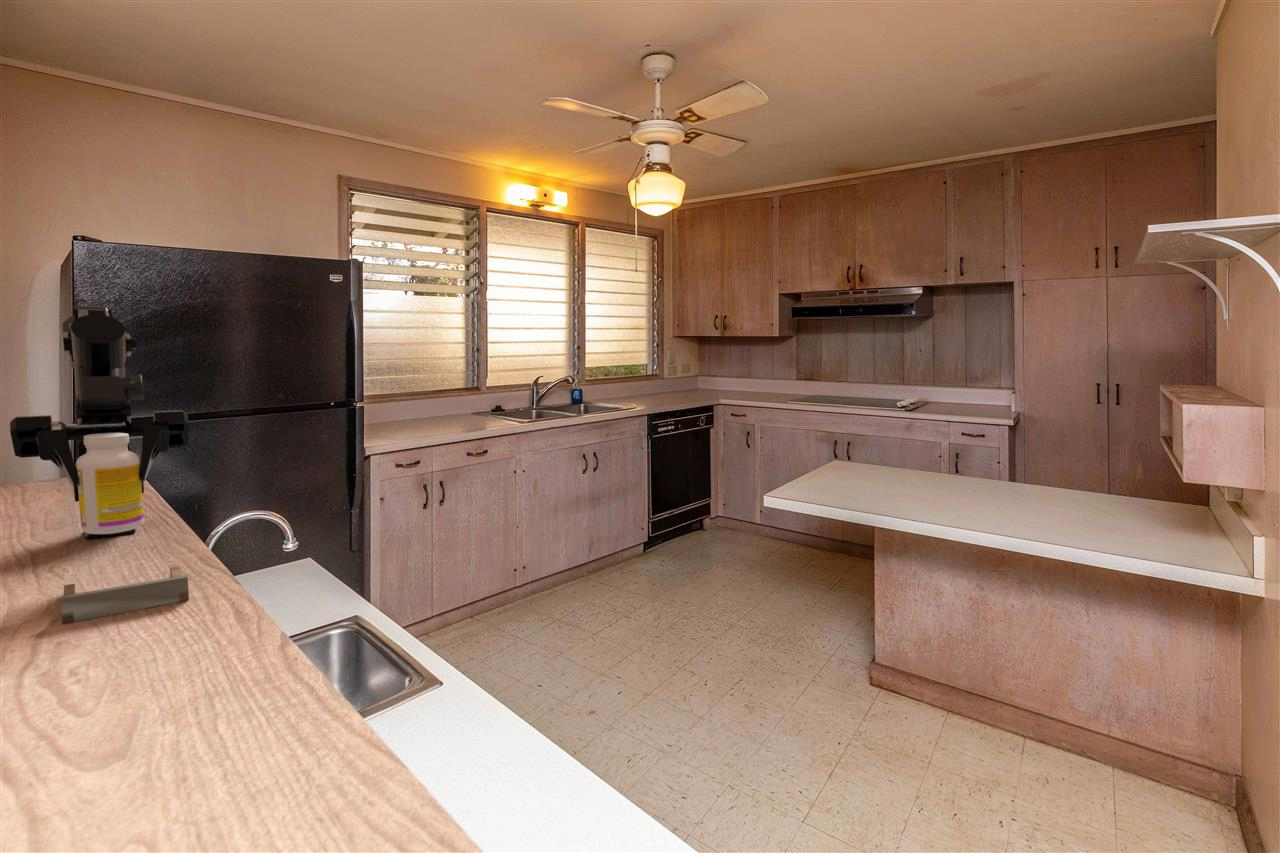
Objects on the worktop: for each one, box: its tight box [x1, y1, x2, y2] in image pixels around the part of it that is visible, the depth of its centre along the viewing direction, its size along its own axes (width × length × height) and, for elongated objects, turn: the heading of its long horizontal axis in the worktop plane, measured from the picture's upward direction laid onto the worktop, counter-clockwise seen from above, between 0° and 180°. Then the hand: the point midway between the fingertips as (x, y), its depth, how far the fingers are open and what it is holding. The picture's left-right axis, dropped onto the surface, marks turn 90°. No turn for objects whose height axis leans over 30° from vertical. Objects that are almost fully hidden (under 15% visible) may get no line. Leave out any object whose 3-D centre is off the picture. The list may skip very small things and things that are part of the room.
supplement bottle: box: [75, 433, 145, 534], centre depth 88 cm, size 7×7×13 cm
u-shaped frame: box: [59, 566, 190, 625], centre depth 83 cm, size 11×12×3 cm
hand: (110, 482), depth 86 cm, fingers closed on supplement bottle, 7 cm apart
